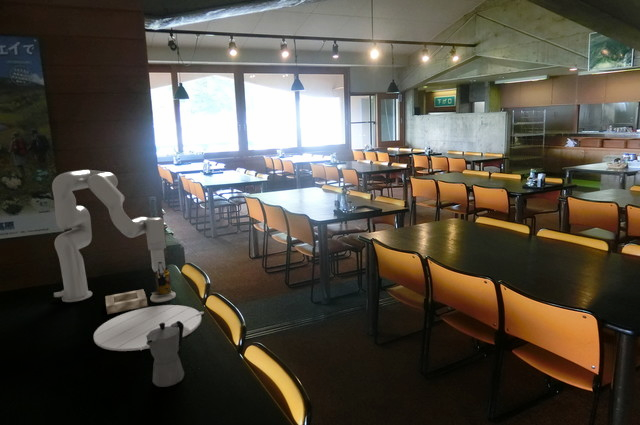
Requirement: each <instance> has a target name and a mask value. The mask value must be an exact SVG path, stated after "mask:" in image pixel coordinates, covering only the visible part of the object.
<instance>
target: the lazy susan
mask: <svg viewBox="0 0 640 425" xmlns="http://www.w3.org/2000/svg"><path fill="white" fill-rule="evenodd" d="M204 313H205V312H204V311H199V310H197V309H195V308H194V307H190V306H186V305H177V304H176V305H173V304H166V305H165V304H163V305H156V306H147V307H142V308H137V309H135V310H134V309H133V310H131V311H128V312H125V313H122V314H120V315H117V316H115V317H113V318H111V319H109V320H107V321H106V322H104V323H102V324H101V325H100V326H98V327H97V329H96V330H95V331H94V333H93V342H94V344H96V345H97V346H98V347H100V348H101V349H104V350H107V351H108V350H109V351H117V352H127V351H129V352H130V351H131V352H132V351H139V350H140V351H142V350H147V349H150V347H149V345H147V344H146V342H147V341H148V340H147V337H146V336H147V335H148V334H149V332H150V331H152V330H154V329H157V328H160V326H159V324H160V323H165V327H167V326H171V325H172V324H173V323H176V322H177V321H180V322H181V323H182V324H183V325H184V328H183V337H182V338H184V337H187V336H188V335H189V334H191V333H193V332H194V331H195V330H196V329H198V327H199V326H200V324H201V323H202V315H203V314H204ZM178 329H179V327H178Z"/></svg>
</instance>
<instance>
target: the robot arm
mask: <svg viewBox="0 0 640 425" xmlns="http://www.w3.org/2000/svg"><path fill="white" fill-rule="evenodd" d="M118 182H119V181H118V178H117V176H116V175H115V174H114V173H112V172H110V171H101V170H94V169H93V170H92V169H79V170H73V171H72V170H71V171H67V172H66V171H65V172H63V173H60V174H58V175H57V176H56V177H54V179H53V181H52V185H51V187H52V188H51V189H52V194H53V199H54V212H55V221H56V222H55V223H56V226H57V227H58V228H59V229H61V230H68V231H65V232H61V233H60V234H59V235H57V237H56V238H55V240H54V248H55V251H56V253H57V256H58V259H59V265H60V271H61V278H62V283H63V290H61V291H57V292H53V297H54V298H61V300H62V302H65V303H75V302H80V301H84V300H86V299H89V298H91V297H92V296H93V292H92V291H91V290H89V288H88V280H87V275H86V269H85V263H84V262H85V261H84V258H83V255H82V254H81V252H80V250H81V249H83V248H85V247H87V246H89V245H90V244H91V242H92V238H93V235H92V224H91V223H92V221H91V220H92V219H91V215H90V212H89V210H88V208H86V207H85V206H83V205H78V204H77V199H76V197H75V194H74V193H73V191H79V190H84V189H90V191H91V192H92V193H93V194H94V195H95V196H96V197H97V198H98V199H99V200H100V201H101V202H102V204H104V206H105V207H106V208H107V209H108V213H109V218H110V219H111V222H112V223H113V225H114V226H115V227H116V229H118V230H119V232H121V234H122V235H124V236H125V237H127V238H136V237H139V236H140V235H143V234H145V235H146V240H147V241H146V242H147V249H148V251H150V259H151V260H150V261H151V268H152V270H153V272H154V273H156V271H157V274H158V286H165V285H166V280H165V275H164V270H165V266H166V261H165V260H166V259H165V251H164V249H166V248H167V245H166V236H165V235H166V234H165V228H164V227H165V226H164V219H163V218H162V217H157V216H156V217H147V216H138V217H135V218H133V219H131V218H130V217H129V216H128V215H127V214H126V212H125V211H124V210H125V209H124V208H123V203H124V202H125V201H126V200H125V199H126V198H125V196H124V194H123V193H122V192H121V190H119V189H118V188H117V187H118V184H119V183H118ZM70 229H71V230H70ZM158 270H160V271H158ZM159 272H160V273H159Z"/></svg>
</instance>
